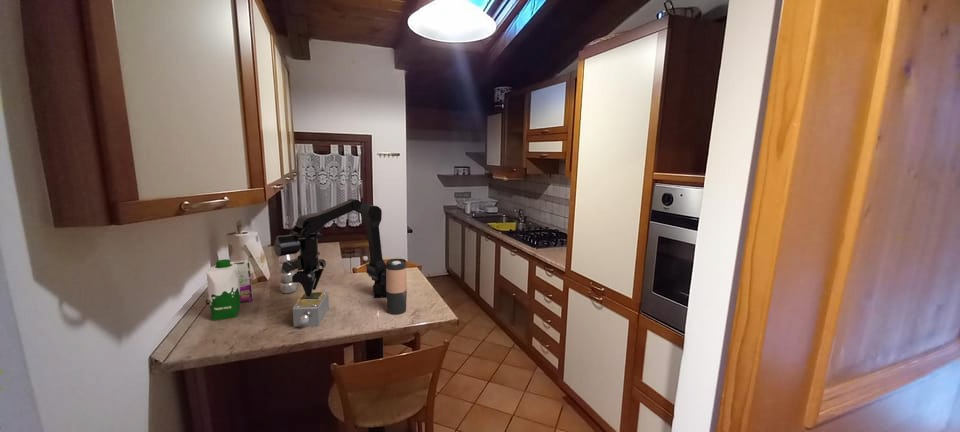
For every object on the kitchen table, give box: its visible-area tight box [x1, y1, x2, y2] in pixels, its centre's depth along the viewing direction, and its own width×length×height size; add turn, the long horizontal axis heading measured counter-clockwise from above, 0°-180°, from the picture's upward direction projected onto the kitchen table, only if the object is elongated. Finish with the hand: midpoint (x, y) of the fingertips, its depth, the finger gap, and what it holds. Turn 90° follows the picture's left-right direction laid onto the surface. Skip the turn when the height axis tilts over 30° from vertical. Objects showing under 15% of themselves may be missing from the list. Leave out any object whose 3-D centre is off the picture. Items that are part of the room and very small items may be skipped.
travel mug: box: [385, 258, 408, 316], centre depth 129 cm, size 8×8×20 cm
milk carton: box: [206, 258, 241, 321], centre depth 122 cm, size 9×9×20 cm
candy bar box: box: [214, 259, 254, 303], centre depth 134 cm, size 11×5×16 cm, turn 123°
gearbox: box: [292, 290, 330, 328], centre depth 121 cm, size 8×16×8 cm, turn 11°
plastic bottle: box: [278, 254, 298, 294], centre depth 145 cm, size 6×7×20 cm
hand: (311, 292), depth 122 cm, fingers open, 6 cm apart
